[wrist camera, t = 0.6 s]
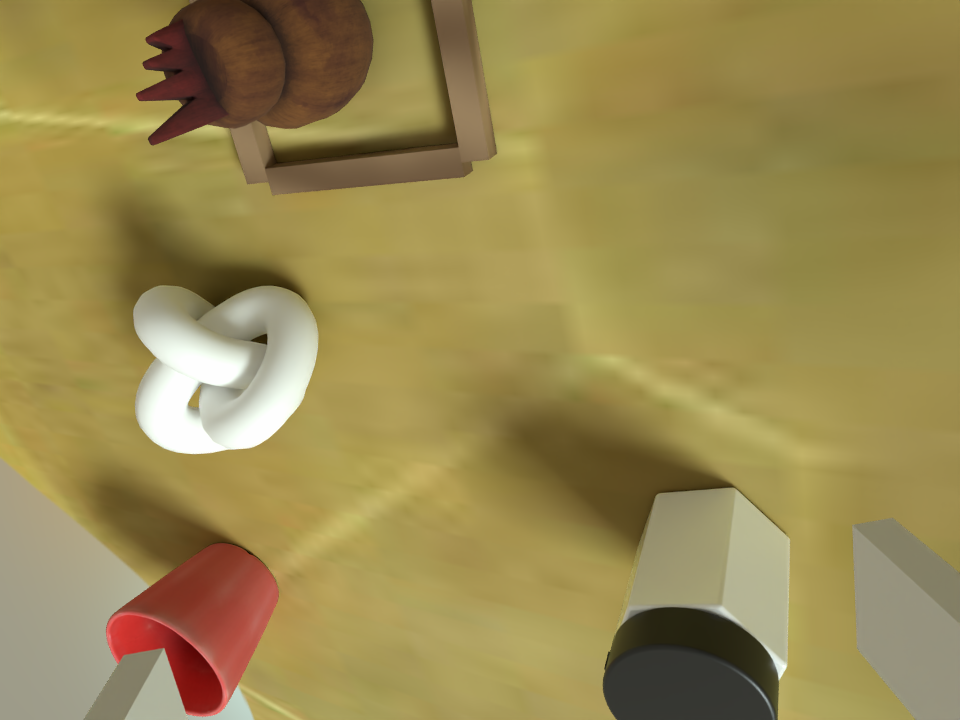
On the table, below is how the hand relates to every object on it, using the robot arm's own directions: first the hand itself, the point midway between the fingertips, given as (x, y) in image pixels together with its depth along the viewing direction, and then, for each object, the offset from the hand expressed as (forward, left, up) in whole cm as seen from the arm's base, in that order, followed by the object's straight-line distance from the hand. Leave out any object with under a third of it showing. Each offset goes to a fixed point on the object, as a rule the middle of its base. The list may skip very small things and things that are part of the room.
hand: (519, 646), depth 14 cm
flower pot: (+30, -39, -28) cm, 56 cm away
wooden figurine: (-10, -17, -28) cm, 34 cm away
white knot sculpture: (+7, -27, -28) cm, 39 cm away
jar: (+21, 0, -28) cm, 35 cm away
